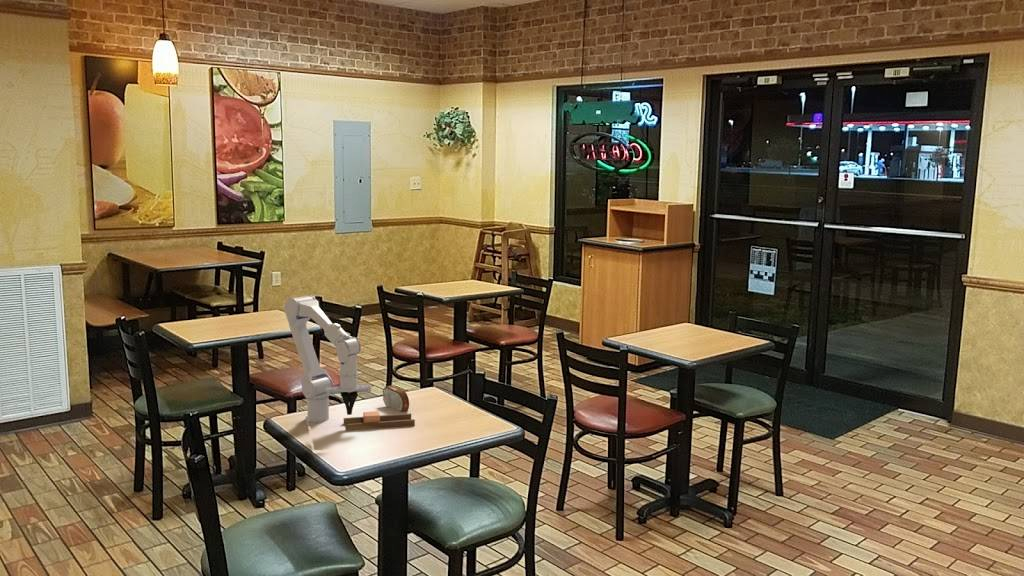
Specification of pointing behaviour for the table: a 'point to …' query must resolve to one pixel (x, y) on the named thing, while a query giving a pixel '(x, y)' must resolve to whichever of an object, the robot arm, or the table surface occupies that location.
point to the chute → (385, 422)
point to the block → (371, 417)
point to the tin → (395, 398)
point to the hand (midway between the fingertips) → (349, 413)
